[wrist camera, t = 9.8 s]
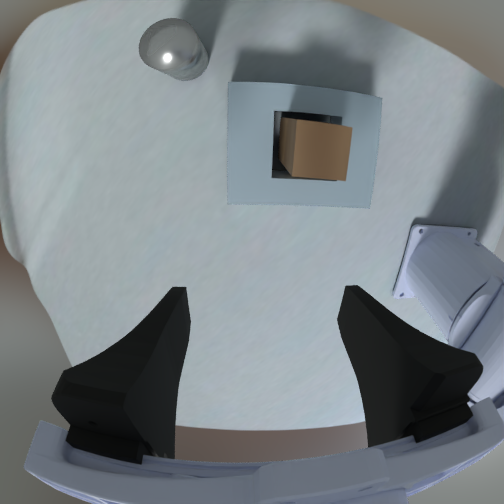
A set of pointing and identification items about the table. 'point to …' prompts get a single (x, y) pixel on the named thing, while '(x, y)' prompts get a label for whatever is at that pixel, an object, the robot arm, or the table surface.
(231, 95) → the socket block
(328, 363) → the table surface
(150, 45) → the cylinder
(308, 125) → the square bit
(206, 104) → the table surface
